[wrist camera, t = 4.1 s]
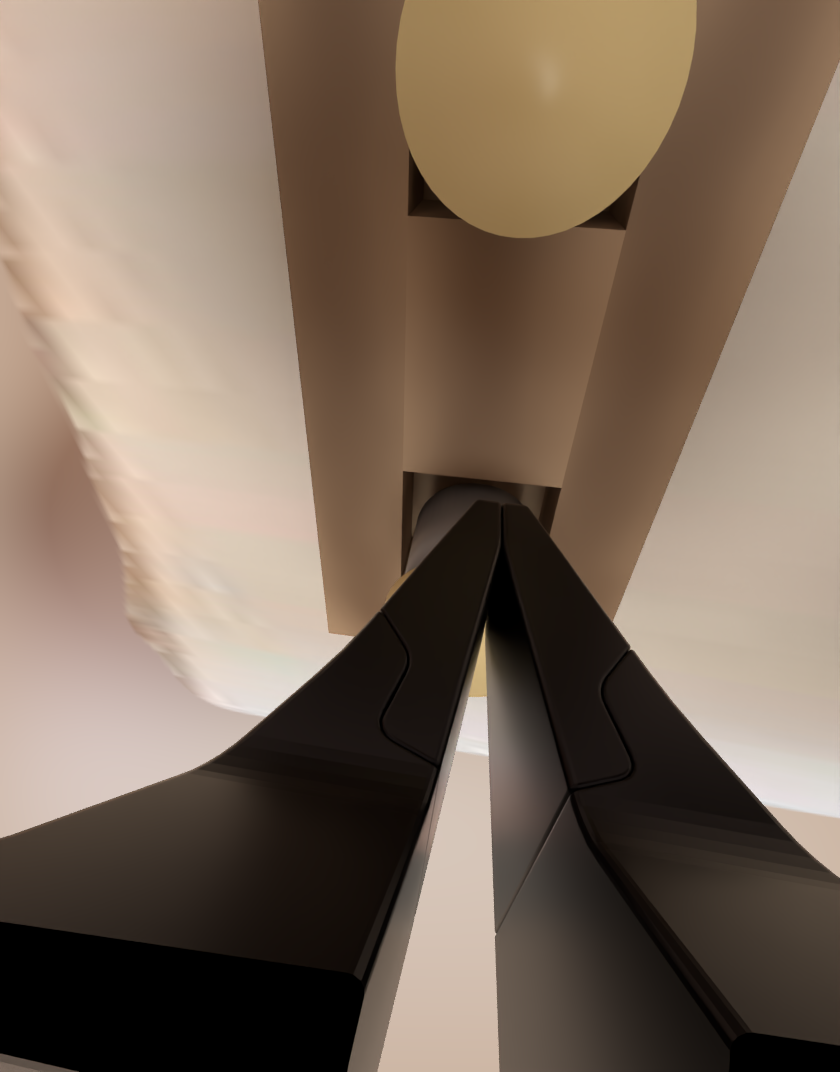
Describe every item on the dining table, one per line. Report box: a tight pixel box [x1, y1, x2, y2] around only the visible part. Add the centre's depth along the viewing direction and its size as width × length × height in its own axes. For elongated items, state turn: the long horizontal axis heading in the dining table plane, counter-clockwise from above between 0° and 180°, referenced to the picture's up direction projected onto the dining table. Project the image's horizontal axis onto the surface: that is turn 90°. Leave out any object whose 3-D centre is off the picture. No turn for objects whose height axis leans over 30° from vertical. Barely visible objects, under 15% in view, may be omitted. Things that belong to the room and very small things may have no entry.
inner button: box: [385, 483, 523, 697], centre depth 18 cm, size 5×5×6 cm
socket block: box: [258, 0, 840, 636], centre depth 17 cm, size 12×26×4 cm, turn 178°
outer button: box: [395, 0, 697, 238], centre depth 12 cm, size 5×5×6 cm
